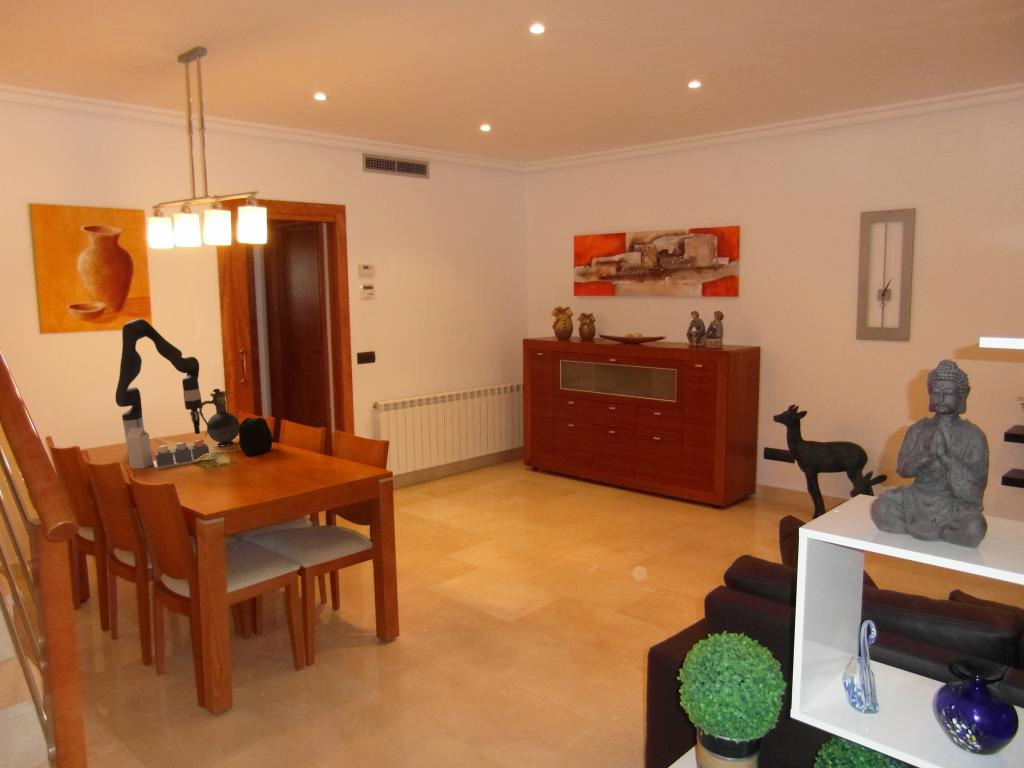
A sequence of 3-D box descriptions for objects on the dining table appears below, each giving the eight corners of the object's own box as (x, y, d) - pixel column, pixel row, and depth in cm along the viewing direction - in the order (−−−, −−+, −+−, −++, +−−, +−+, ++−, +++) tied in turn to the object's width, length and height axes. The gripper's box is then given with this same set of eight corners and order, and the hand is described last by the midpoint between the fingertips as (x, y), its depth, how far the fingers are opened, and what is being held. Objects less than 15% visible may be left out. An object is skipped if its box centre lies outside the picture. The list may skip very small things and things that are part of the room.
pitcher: (244, 442, 400) (237, 386, 395) (209, 451, 387) (201, 392, 382) (235, 439, 408) (228, 384, 402) (200, 448, 394) (192, 390, 389)
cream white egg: (159, 456, 367) (157, 446, 366) (168, 454, 369) (167, 444, 368) (159, 458, 363) (158, 448, 362) (169, 456, 365) (168, 446, 364)
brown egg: (194, 450, 374) (193, 440, 373) (204, 448, 376) (202, 438, 375) (195, 452, 370) (194, 442, 369) (205, 450, 372) (204, 440, 371)
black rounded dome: (281, 446, 386) (277, 413, 383) (267, 456, 369) (262, 421, 366) (247, 448, 388) (243, 414, 385) (231, 457, 371) (226, 422, 368)
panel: (153, 463, 370) (151, 451, 369) (209, 453, 382) (208, 441, 381) (155, 469, 358) (153, 457, 357) (214, 459, 370) (212, 447, 369)
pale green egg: (177, 453, 370) (175, 443, 370) (186, 451, 372) (185, 441, 372) (178, 455, 367) (176, 445, 366) (187, 453, 369) (186, 443, 368)
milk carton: (143, 468, 361) (137, 429, 357) (130, 468, 362) (124, 429, 359) (153, 464, 368) (147, 425, 364) (140, 464, 369) (134, 426, 366)
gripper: (182, 397, 373) (187, 432, 376) (185, 401, 361) (190, 437, 364) (199, 395, 376) (204, 430, 379) (202, 399, 365) (207, 434, 368)
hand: (197, 433), depth 372 cm, fingers closed
